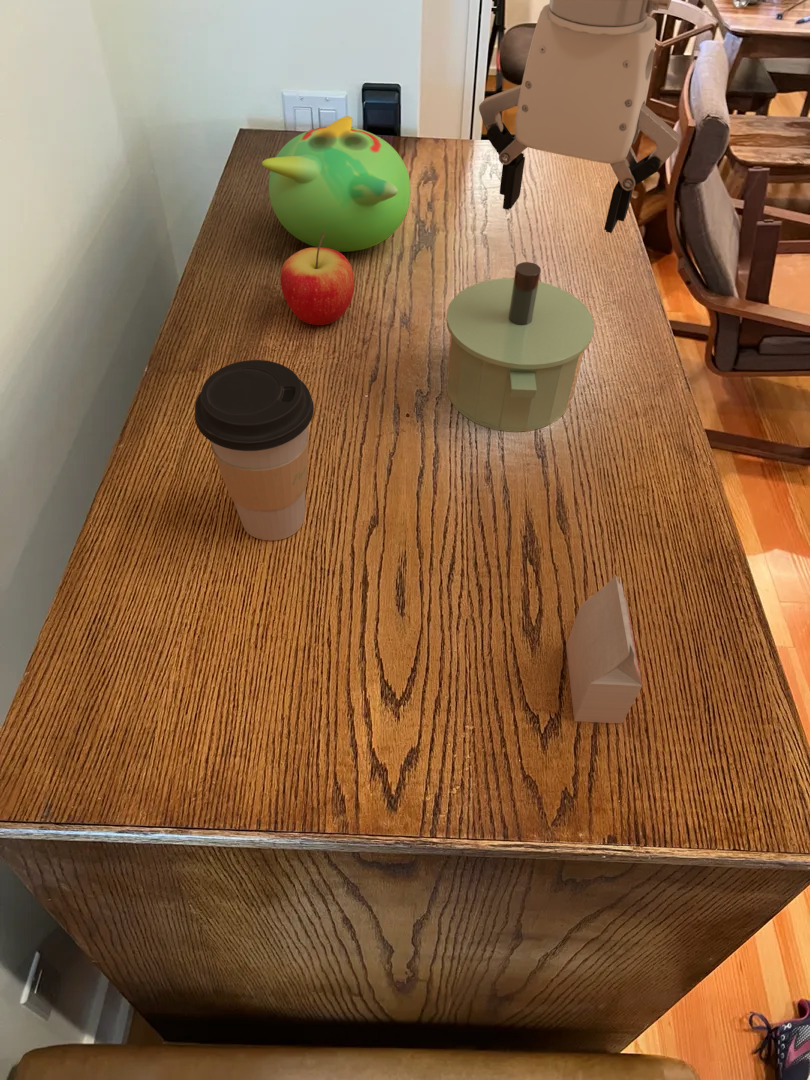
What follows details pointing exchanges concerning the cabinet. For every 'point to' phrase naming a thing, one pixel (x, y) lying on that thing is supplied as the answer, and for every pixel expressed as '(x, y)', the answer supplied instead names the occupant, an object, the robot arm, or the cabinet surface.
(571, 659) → the tea bag
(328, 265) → the apple
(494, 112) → the robot arm
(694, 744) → the cabinet surface
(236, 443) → the coffee cup
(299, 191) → the toy bird
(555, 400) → the pot
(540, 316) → the lid
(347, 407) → the cabinet surface
